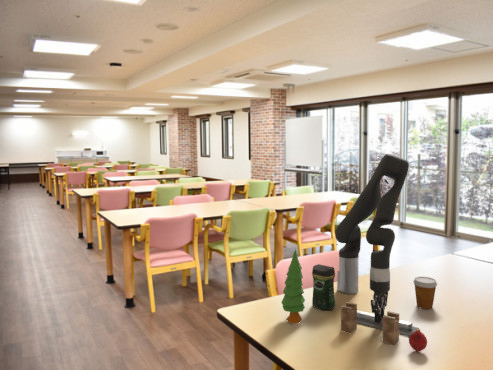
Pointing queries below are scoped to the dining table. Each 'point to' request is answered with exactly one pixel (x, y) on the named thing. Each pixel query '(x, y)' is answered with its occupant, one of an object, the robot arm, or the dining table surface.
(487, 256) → the dining table surface
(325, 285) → the coffee jar
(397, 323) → the post
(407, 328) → the rail
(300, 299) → the decorative tree
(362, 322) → the mat
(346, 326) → the post
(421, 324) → the dining table surface
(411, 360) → the dining table surface
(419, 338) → the onion
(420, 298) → the disposable coffee cup
